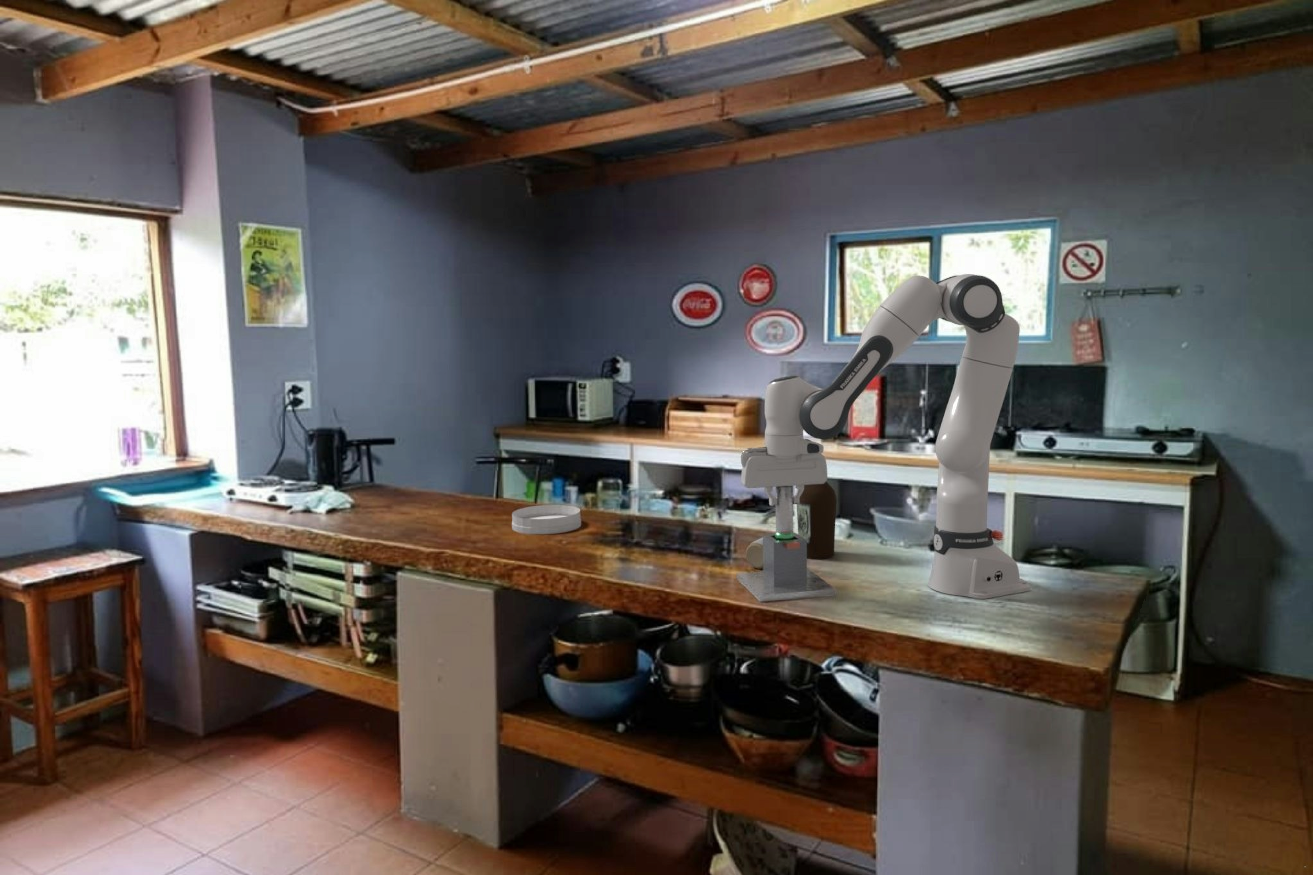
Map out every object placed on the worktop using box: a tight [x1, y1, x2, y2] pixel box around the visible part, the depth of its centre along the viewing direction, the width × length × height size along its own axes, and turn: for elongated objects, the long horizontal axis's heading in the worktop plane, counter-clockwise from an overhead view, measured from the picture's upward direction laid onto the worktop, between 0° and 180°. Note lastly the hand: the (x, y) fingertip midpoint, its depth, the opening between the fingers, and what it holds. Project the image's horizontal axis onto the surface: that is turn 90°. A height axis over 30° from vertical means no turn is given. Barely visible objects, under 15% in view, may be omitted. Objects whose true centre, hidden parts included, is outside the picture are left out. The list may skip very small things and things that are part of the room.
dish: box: [511, 504, 582, 535], centre depth 265 cm, size 22×22×5 cm
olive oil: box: [796, 481, 838, 560], centre depth 222 cm, size 11×11×25 cm
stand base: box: [736, 531, 837, 603], centre depth 195 cm, size 18×18×12 cm
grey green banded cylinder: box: [774, 486, 794, 541], centre depth 194 cm, size 4×4×18 cm
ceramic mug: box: [745, 536, 763, 570], centre depth 212 cm, size 11×8×8 cm
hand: (784, 504), depth 193 cm, fingers closed on grey green banded cylinder, 4 cm apart
